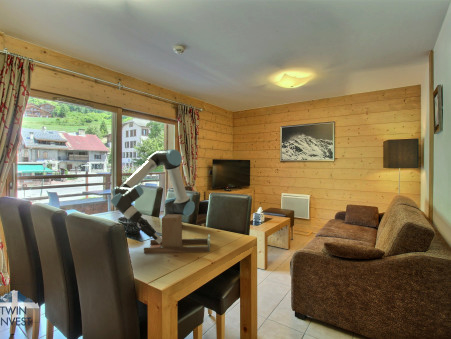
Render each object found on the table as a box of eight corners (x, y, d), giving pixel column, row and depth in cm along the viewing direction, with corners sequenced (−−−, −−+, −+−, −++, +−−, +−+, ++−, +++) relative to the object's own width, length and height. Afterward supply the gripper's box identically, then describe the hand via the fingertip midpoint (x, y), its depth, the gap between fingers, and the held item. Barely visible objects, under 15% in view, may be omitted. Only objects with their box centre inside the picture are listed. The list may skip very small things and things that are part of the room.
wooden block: (177, 251, 144) (177, 217, 143) (161, 250, 145) (160, 217, 144) (182, 245, 154) (182, 214, 153) (167, 245, 155) (166, 213, 154)
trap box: (150, 244, 156) (150, 235, 156) (210, 243, 158) (210, 233, 157) (143, 253, 141) (143, 243, 141) (209, 251, 143) (209, 241, 142)
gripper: (132, 216, 153) (159, 242, 154) (124, 222, 140) (153, 250, 141) (140, 208, 153) (167, 234, 154) (133, 212, 140) (162, 241, 141)
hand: (161, 242), depth 148 cm, fingers closed
